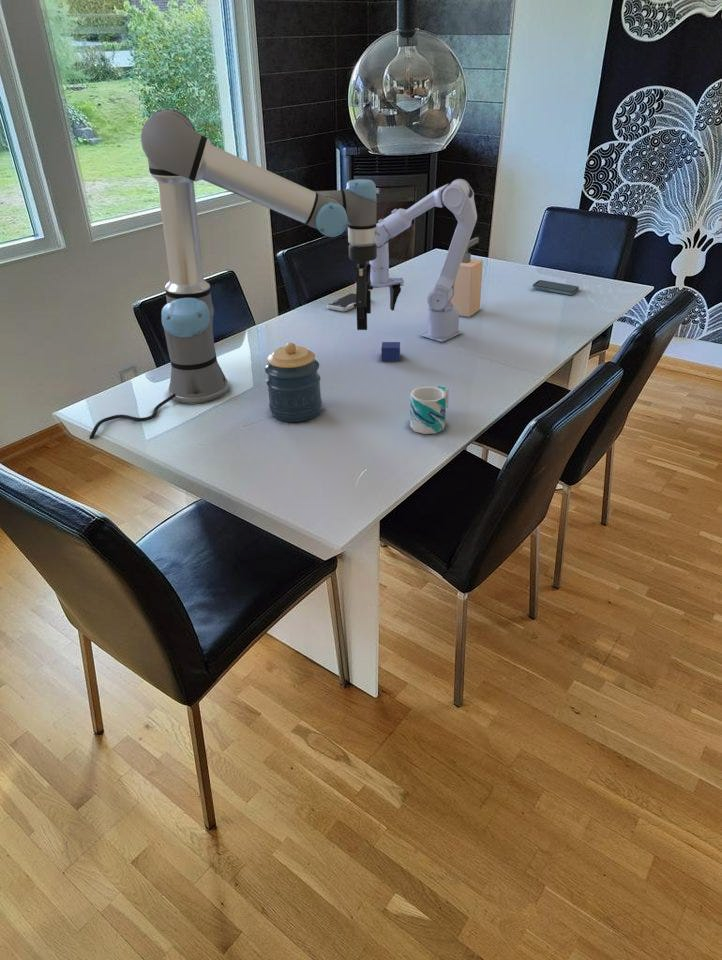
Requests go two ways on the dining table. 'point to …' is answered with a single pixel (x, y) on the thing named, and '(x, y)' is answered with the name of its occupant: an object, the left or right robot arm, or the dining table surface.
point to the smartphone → (343, 303)
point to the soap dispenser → (468, 284)
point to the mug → (428, 409)
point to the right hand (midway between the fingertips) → (380, 310)
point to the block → (390, 351)
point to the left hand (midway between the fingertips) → (364, 321)
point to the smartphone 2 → (555, 287)
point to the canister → (293, 384)
